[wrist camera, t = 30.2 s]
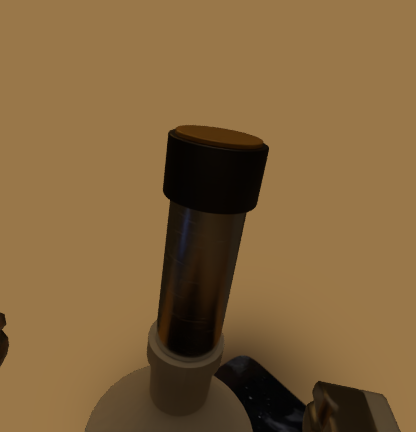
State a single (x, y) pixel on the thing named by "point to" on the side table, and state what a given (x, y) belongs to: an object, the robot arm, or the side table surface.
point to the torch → (204, 232)
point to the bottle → (170, 398)
